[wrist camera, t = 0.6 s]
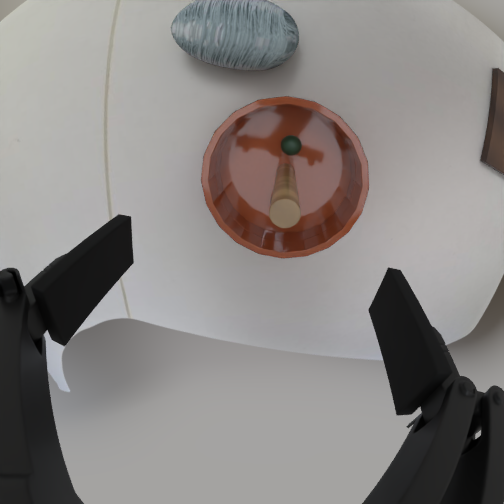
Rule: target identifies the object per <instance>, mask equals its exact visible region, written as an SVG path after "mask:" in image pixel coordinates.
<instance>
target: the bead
mask: <svg viewBox="0 0 504 504" xmlns="http://www.w3.org/2000/svg"><path fill="white" fill-rule="evenodd" d="M301 148H302V143H301V141H300V139H299V138H298V137H296V136H294V135H288V136H286V137H284V138H283V139H282V141H281V149H282V151H283V152H284V153H285V154H287V155H296V154H298V153H299V152H300V150H301Z"/></svg>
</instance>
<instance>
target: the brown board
mask: <svg viewBox="0 0 504 504" xmlns="http://www.w3.org/2000/svg"><path fill="white" fill-rule="evenodd" d="M481 161H482V162H484V163H485V164H487V165H489V166H490V167H492V168H493V169H495V170H497V171H498V172H500V173H501V174H503V175H504V72H502V71H501V70H500V69H499V68H495V69H493V78H492V93H491V103H490V111H489V119H488V125H487V131H486V137H485V142H484V147H483V152H482V156H481Z"/></svg>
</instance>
